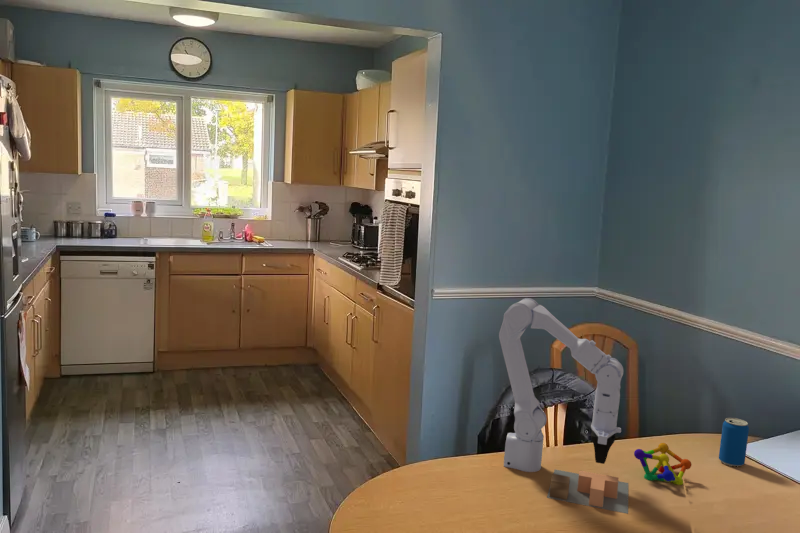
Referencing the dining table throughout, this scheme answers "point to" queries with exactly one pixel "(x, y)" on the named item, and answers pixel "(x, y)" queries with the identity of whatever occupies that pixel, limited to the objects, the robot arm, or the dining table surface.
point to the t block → (597, 487)
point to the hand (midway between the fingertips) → (600, 462)
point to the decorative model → (663, 460)
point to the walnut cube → (559, 486)
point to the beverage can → (733, 442)
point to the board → (583, 498)
